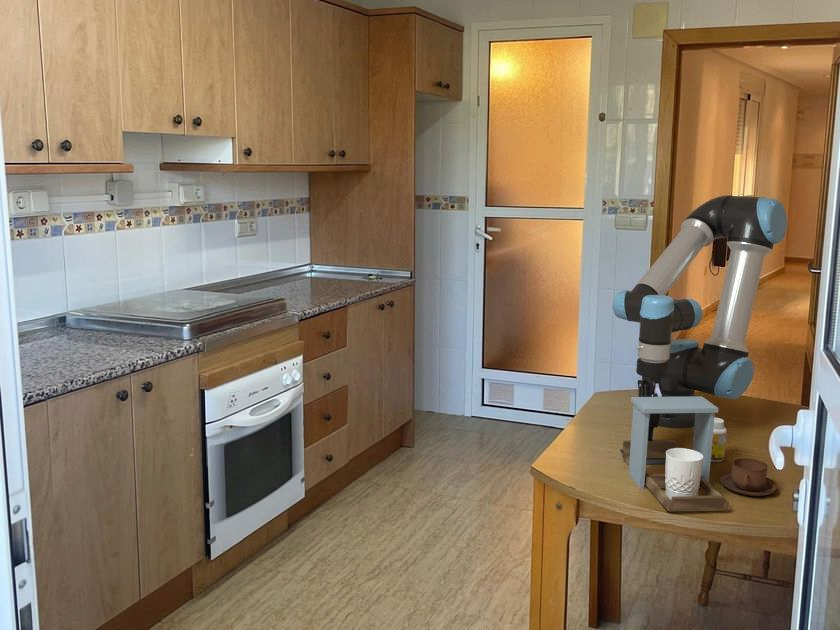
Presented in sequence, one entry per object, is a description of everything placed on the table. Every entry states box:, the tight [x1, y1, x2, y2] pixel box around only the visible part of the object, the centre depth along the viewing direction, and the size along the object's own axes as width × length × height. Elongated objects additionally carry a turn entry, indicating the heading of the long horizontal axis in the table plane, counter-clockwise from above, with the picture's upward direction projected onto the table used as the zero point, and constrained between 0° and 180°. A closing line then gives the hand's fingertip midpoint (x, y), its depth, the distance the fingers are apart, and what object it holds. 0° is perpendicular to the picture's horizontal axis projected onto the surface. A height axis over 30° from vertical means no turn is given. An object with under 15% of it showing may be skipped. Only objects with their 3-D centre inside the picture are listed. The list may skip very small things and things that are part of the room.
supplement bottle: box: [711, 417, 728, 463], centre depth 208 cm, size 6×6×10 cm
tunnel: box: [628, 395, 719, 490], centre depth 192 cm, size 9×17×19 cm, turn 94°
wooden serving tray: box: [621, 439, 730, 512], centre depth 192 cm, size 31×13×4 cm, turn 4°
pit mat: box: [619, 448, 666, 466], centre depth 209 cm, size 10×10×1 cm
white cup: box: [664, 447, 703, 501], centre depth 184 cm, size 8×8×10 cm
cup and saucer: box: [719, 457, 778, 497], centre depth 190 cm, size 12×12×6 cm
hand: (645, 451), depth 208 cm, fingers closed
